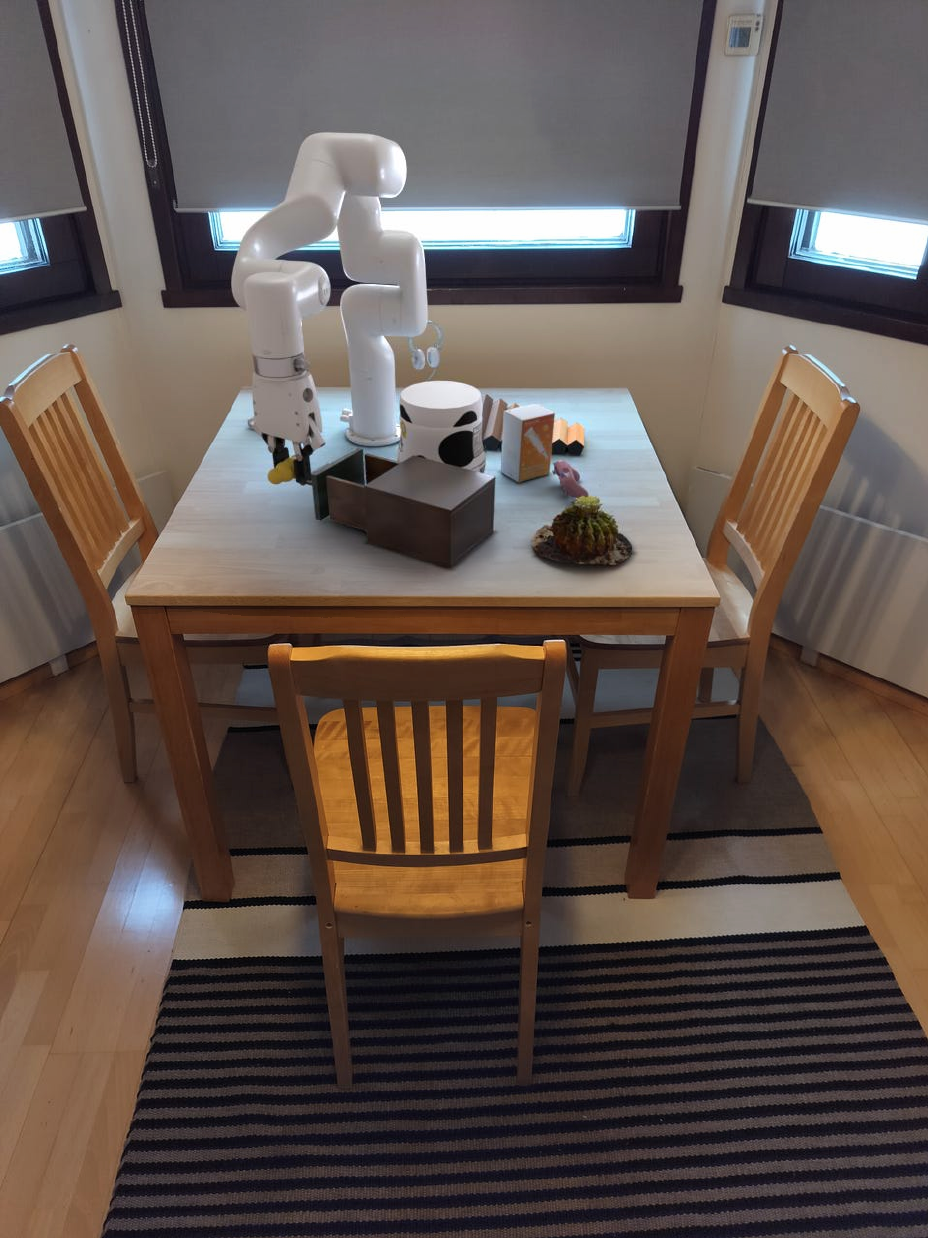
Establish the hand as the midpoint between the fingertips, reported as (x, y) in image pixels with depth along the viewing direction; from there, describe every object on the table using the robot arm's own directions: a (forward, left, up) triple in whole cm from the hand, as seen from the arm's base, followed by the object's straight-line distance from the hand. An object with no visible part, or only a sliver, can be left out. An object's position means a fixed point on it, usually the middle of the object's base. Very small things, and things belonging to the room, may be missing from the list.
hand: (293, 475), depth 133 cm
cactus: (+40, +26, -14) cm, 50 cm away
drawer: (+1, +16, -13) cm, 20 cm away
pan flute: (+8, +69, -14) cm, 71 cm away
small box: (+18, +48, -14) cm, 53 cm away
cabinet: (+16, +16, -14) cm, 26 cm away
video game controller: (+29, +45, -14) cm, 56 cm away
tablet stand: (-42, +41, -14) cm, 60 cm away
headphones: (-19, +69, -14) cm, 73 cm away
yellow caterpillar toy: (0, 0, 0) cm, 0 cm away
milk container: (+6, +35, -14) cm, 38 cm away
